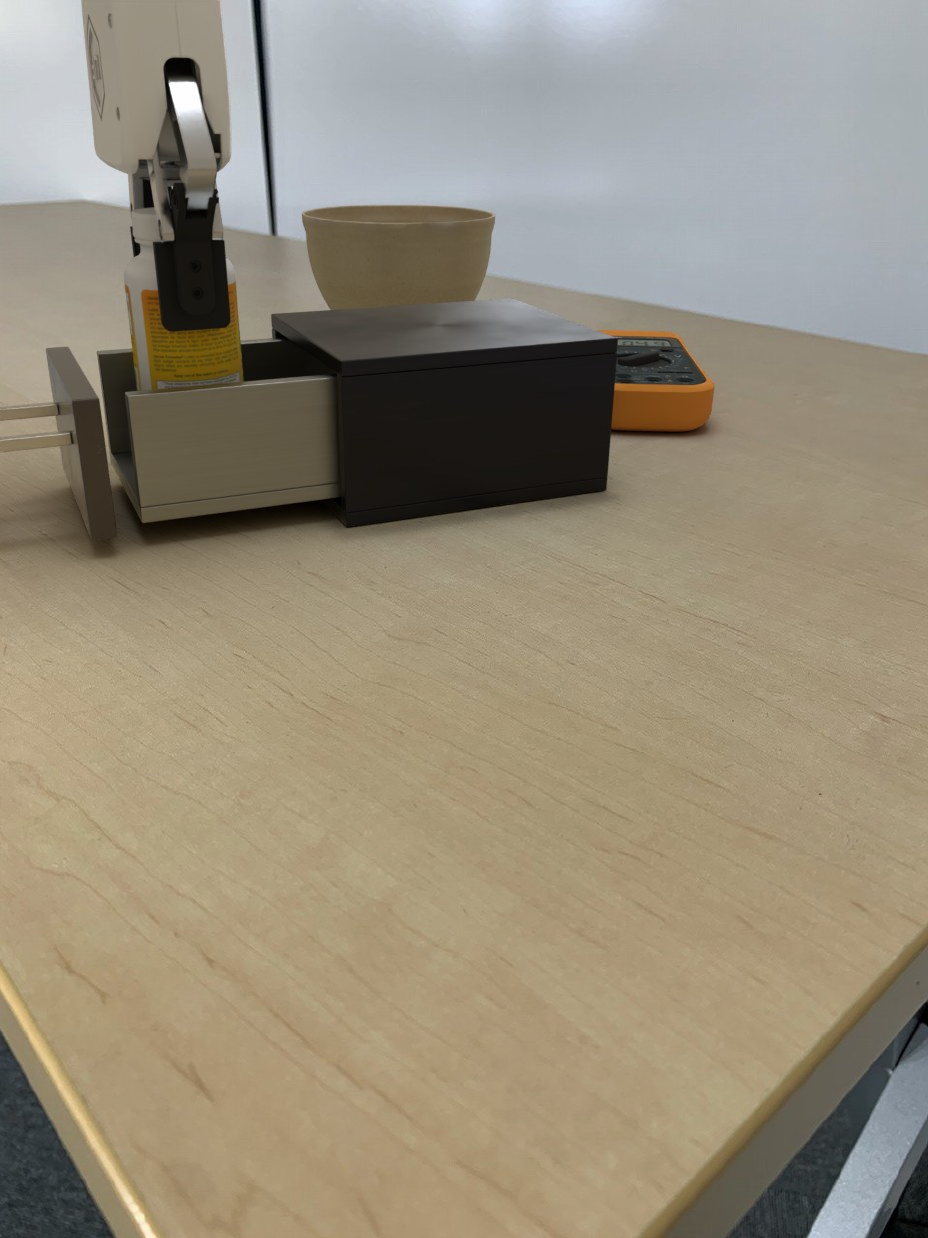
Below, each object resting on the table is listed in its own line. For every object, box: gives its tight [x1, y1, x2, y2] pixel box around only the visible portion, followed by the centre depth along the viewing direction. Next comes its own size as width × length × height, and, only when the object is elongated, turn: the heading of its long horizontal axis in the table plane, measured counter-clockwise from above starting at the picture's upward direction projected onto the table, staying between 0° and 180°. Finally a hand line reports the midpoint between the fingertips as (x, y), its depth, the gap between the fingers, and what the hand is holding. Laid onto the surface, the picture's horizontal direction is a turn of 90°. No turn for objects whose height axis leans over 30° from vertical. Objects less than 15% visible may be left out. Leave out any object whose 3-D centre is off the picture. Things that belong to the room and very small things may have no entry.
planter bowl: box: [301, 204, 496, 310], centre depth 94 cm, size 16×16×11 cm
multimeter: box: [596, 329, 715, 433], centre depth 80 cm, size 9×18×3 cm, turn 179°
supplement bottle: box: [123, 207, 244, 391], centre depth 55 cm, size 5×5×10 cm
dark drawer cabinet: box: [270, 297, 618, 528], centre depth 63 cm, size 16×13×9 cm
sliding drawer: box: [0, 337, 341, 542], centre depth 57 cm, size 20×11×7 cm, turn 114°
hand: (183, 312), depth 55 cm, fingers closed on supplement bottle, 5 cm apart
